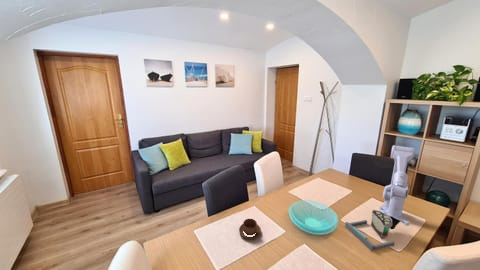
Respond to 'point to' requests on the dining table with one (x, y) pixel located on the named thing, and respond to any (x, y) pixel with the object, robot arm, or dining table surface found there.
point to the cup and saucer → (250, 228)
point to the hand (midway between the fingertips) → (391, 227)
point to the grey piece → (363, 239)
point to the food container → (381, 223)
